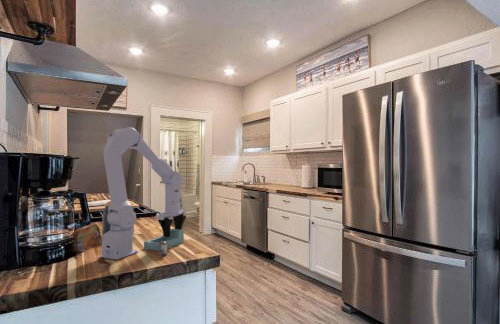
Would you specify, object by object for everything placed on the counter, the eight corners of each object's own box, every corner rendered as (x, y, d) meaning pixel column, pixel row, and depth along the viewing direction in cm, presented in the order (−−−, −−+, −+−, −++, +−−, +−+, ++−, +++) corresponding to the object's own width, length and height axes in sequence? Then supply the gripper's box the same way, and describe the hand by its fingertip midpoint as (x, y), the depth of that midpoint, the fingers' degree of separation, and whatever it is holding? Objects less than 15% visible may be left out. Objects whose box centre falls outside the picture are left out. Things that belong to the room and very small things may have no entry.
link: (161, 250, 104) (161, 237, 104) (144, 248, 107) (144, 235, 107) (183, 242, 116) (183, 229, 116) (167, 240, 119) (167, 228, 119)
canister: (104, 233, 132) (105, 195, 133) (135, 231, 136) (135, 194, 137) (99, 240, 120) (99, 198, 120) (132, 237, 124) (132, 196, 124)
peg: (164, 256, 97) (164, 242, 97) (158, 255, 98) (158, 242, 98) (169, 254, 99) (169, 241, 99) (163, 253, 100) (163, 240, 100)
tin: (77, 255, 100) (77, 230, 100) (68, 255, 100) (68, 230, 100) (101, 243, 115) (101, 222, 115) (93, 243, 115) (93, 222, 115)
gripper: (168, 203, 108) (168, 240, 108) (191, 199, 121) (191, 232, 121) (154, 202, 111) (154, 238, 111) (177, 199, 124) (177, 230, 124)
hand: (172, 234), depth 116 cm, fingers open, 6 cm apart
